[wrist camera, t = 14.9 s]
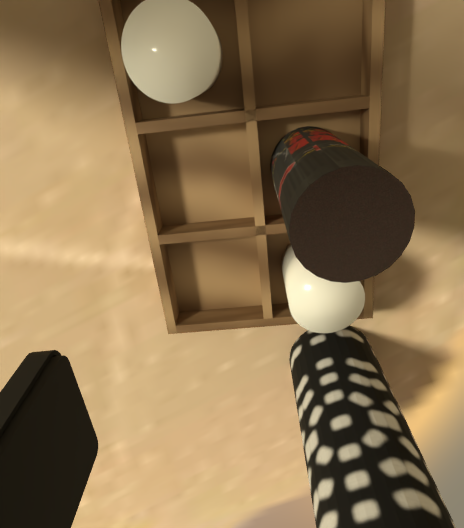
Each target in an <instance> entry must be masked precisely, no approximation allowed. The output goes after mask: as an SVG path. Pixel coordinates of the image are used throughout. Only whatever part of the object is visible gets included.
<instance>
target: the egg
mask: <svg viewBox="0 0 464 528" xmlns="http://www.w3.org/2000/svg"><path fill="white" fill-rule="evenodd" d="M121 52H122V58H123V62H124V66H125V68H126V71H127V73H128V75H129V77H130V78H131V80H132V81H133V83H134V84H135V85H136V86H137V87H138V89H140V90H141V91H142V92H143V93H144V94H146V95H147V96H148V97H150V98H152V99H154V100H157V101H159V102H164V103H171V104H172V103H181V102H185V101H188V100H190V99H192V98H194V97H197V96H199V95H201V94H202V93H204V92H206V91H207V90H209V89H210V88H211V87H212V86H213V84H214V83H215V82H216V80H217V79H218V77H219V75H220V72H221V69H222V64H223V49H222V44H221V41H220V38H219V36H218V34H217V32H216V31H215V29H214V27H213V26H212V24H211V23H210V21H209V20H208V18H207V17H206V15H205V14H204V13H203V12H202V11H201V10H200V9H199V8H198V7H197V6H196V5H195V4H194V3H192V2H190V1H189V0H145V1H143V2H142V3H140V4H139V5H138V6H137V7H136V8H135V9H134V10H133V11H132V13H131V14H130V16H129V17H128V19H127V21H126V23H125V26H124V29H123V33H122V40H121Z"/></svg>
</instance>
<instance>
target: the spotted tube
mask: <svg viewBox="0 0 464 528" xmlns="http://www.w3.org/2000/svg"><path fill="white" fill-rule="evenodd" d="M290 367H291V373H292V379H293V385H294V391H295V398H296V404H297V410H298V416H299V422H300V429H301V435H302V441H303V447H304V453H305V460H306V466H307V472H308V478H309V484H310V490H311V496H312V503H313V509H314V515H315V521H316V527H317V528H456V527H455V525H454V523H453V520H452V518H451V516H450V514H449V512H448V510H447V508H446V505H445V503H444V501H443V499H442V497H441V495H440V493H439V491H438V489H437V486H436V484H435V482H434V480H433V478H432V476H431V473H430V471H429V469H428V467H427V465H426V463H425V461H424V459H423V456H422V454H421V452H420V450H419V448H418V446H417V444H416V442H415V439H414V437H413V435H412V433H411V431H410V429H409V426H408V424H407V422H406V420H405V418H404V416H403V414H402V411H401V409H400V407H399V405H398V403H397V401H396V399H395V397H394V394H393V392H392V390H391V388H390V386H389V384H388V382H387V379H386V377H385V375H384V373H383V371H382V369H381V367H380V364H379V362H378V360H377V358H376V356H375V354H374V352H373V350H372V347H371V345H370V343H369V341H368V340H367V338H366V337H365V336H364V335H363V334H362V333H361V332H360V331H358V330H357V329H355V328H353V327H351V326H348V327H346V328H344V329H342V330H339V331H336V332H332V333H316V332H312V331H309V330H308V331H306V332H305V333H304V334H302V335H301V336H300V337H299V338H298V339H297V340H296V342H295V343H294V345H293V347H292V349H291V352H290Z"/></svg>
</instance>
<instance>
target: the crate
mask: <svg viewBox="0 0 464 528" xmlns="http://www.w3.org/2000/svg"><path fill="white" fill-rule="evenodd" d="M143 1H145V0H99V5H100V9H101V14H102V19H103V24H104V29H105V33H106V38H107V43H108V48H109V52H110V57H111V62H112V67H113V72H114V76H115V81H116V86H117V91H118V95H119V100H120V105H121V110H122V115H123V119H124V124H125V129H126V134H127V138H128V143H129V148H130V153H131V158H132V162H133V167H134V172H135V177H136V181H137V186H138V191H139V196H140V201H141V205H142V210H143V215H144V220H145V224H146V229H147V234H148V239H149V243H150V248H151V253H152V258H153V263H154V267H155V272H156V277H157V282H158V286H159V291H160V296H161V301H162V306H163V310H164V315H165V320H166V325H167V329H168V334H174V333H187V332H200V331H212V330H225V329H238V328H251V327H263V326H276V325H289V324H298V323H297V322H296V321H295V320H294V318H293V317H292V315H291V312H290V309H289V303H288V298H287V293H286V288H285V283H284V278H283V273H282V268H281V260H282V255H283V253H284V251H285V249H286V247H287V246H288V245H289V244H290V241H289V237H288V234H287V230H286V226H285V223H284V219H283V215H282V212H281V208H280V205H279V201H278V197H277V194H276V190H275V186H274V183H273V179H272V176H271V168H270V163H271V156H272V153H273V151H274V149H275V146H276V145H277V144H278V142H279V141H280V140H281V138H283V137H284V136H285V135H286V134H288V133H289V132H290V131H293V130H295V129H297V128H300V127H306V126H313V127H320V128H322V129H324V130H327V131H329V132H330V133H332V134H333V135H335V136H336V137H338V138H339V139H340V140H342V141H343V142H345V143H346V144H348V145H349V146H351V147H352V148H354V149H355V150H357V151H358V152H360V153H361V154H363V155H364V156H366V157H367V158H369V159H370V160H371V161H373V162H374V163H376V164H377V165H379V145H380V120H381V95H382V70H383V45H384V20H385V0H189V1H190V2H192V3H194V4H195V5H196V6H197V7H198V8H199V9H200V10H201V11H202V12H203V13H204V14H205V15H206V17H207V18H208V20H209V21H210V23H211V24H212V26H213V27H214V29H215V31H216V32H217V34H218V36H219V38H220V41H221V44H222V49H223V64H222V69H221V72H220V75H219V77H218V79H217V80H216V82H215V83H214V84H213V86H212V87H211V88H210V89H209V90H207V91H206V92H204V93H202V94H201V95H199V96H197V97H194V98H192V99H190V100H188V101H185V102H181V103H172V104H171V103H164V102H159V101H157V100H154V99H152V98H150V97H148V96H147V95H146V94H144V93H143V92H142V91H141V90H140V89H138V87H137V86H136V85H135V84H134V83H133V81H132V80H131V78H130V77H129V75H128V73H127V71H126V68H125V66H124V62H123V58H122V52H121V40H122V33H123V29H124V26H125V23H126V21H127V19H128V17H129V16H130V14H131V13H132V11H133V10H134V9H135V8H136V7H137V6H138V5H139V4H140V3H142V2H143ZM360 283H361V284H362V286H363V289H364V293H365V304H364V307H363V310H362V312H361V314H360V315H359V317H358V318H357V319H365V318H373V296H374V276H373V277H370V278H368V279H365V280H362V281H360Z"/></svg>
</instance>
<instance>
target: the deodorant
mask: <svg viewBox="0 0 464 528" xmlns="http://www.w3.org/2000/svg"><path fill="white" fill-rule="evenodd" d="M270 168H271V176H272V179H273V183H274V186H275V190H276V194H277V197H278V201H279V205H280V208H281V212H282V215H283V219H284V223H285V226H286V230H287V234H288V237H289V241H290V244H291V247H292V249H293V251H294V254H295V256H296V258H297V259H298V260H299V262H300V263H301V264H302V265H303V267H304V268H305V269H307V270H308V271H310V272H311V273H313V274H314V275H315V276H317V277H320V278H322V279H325V280H328V281H332V282H341V283H349V282H356V281H362V280H365V279H368V278H370V277H373V276H376V275H378V274H379V273H381V272H382V271H384V270H385V269H387V268H389V267H390V266H391V265H392V264H393V263H394V262H395V261H396V260H397V259H398V258H399V257H400V256H401V255H402V253H403V251H404V250H405V248H406V247H407V245H408V243H409V242H410V239H411V235H412V232H413V229H414V220H415V210H414V206H413V203H412V199H411V196H410V194H409V193H408V191H407V190H406V188H405V187H404V185H403V183H402V182H400V181H399V180H398V179H397V178H395V177H394V176H393V175H392V174H391V173H389V172H388V171H386V170H385V169H383V168H382V167H380V166H379V165H377V164H376V163H374V162H373V161H371V160H370V159H369V158H367V157H366V156H364V155H363V154H361V153H360V152H358V151H357V150H355V149H354V148H352V147H351V146H349V145H348V144H346V143H345V142H343V141H342V140H340V139H339V138H338V137H336V136H335V135H333V134H332V133H330V132H329V131H327V130H324V129H322V128H320V127H313V126H306V127H300V128H297V129H295V130H293V131H290V132H289V133H288V134H286V135H285V136H284V137H283V138H281V140H280V141H279V142H278V144H277V145H276V146H275V149H274V151H273V153H272V156H271V163H270Z"/></svg>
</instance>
